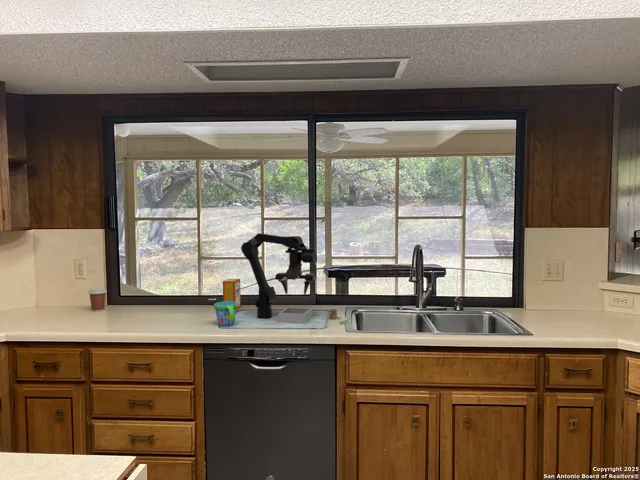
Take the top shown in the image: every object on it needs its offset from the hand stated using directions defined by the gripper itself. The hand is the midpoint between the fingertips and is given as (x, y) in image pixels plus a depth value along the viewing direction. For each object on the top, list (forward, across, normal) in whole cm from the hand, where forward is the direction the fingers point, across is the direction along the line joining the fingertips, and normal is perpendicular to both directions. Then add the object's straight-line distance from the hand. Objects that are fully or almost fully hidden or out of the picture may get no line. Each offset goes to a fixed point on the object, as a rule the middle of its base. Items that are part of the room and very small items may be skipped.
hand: (295, 294), depth 225 cm
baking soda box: (+13, -43, +20) cm, 49 cm away
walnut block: (+12, 0, 0) cm, 12 cm away
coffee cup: (+13, -112, -1) cm, 113 cm away
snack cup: (+13, -30, -14) cm, 36 cm away
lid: (+14, +17, +6) cm, 23 cm away
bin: (+13, 0, 0) cm, 13 cm away
